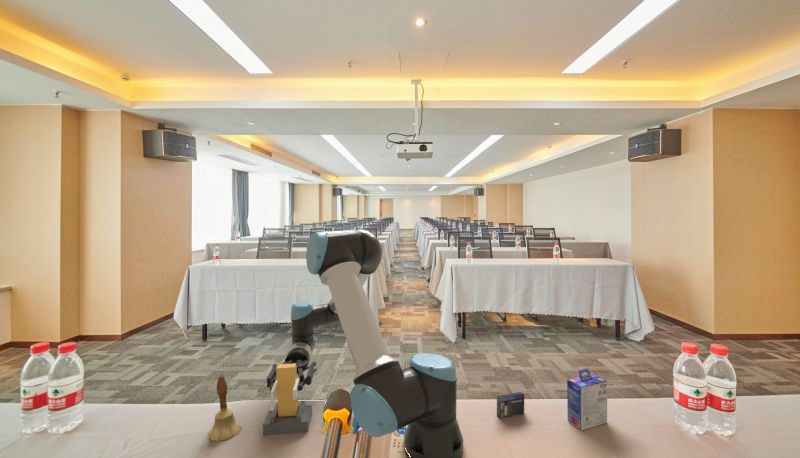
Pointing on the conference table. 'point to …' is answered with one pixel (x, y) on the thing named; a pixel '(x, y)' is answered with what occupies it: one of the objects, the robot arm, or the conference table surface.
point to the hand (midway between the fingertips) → (283, 395)
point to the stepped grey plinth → (288, 421)
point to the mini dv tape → (510, 404)
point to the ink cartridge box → (587, 400)
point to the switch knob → (286, 389)
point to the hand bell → (223, 417)
